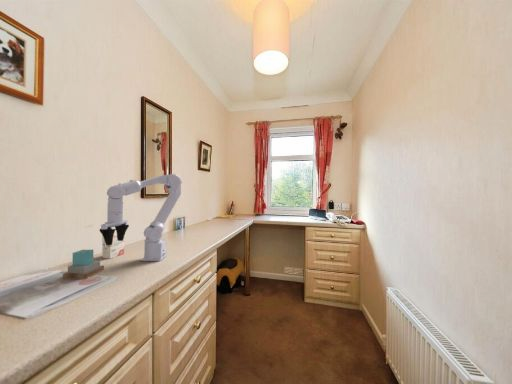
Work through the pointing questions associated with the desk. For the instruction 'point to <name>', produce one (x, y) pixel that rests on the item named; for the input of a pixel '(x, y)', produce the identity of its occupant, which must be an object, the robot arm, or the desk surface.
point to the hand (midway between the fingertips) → (114, 242)
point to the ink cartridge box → (112, 247)
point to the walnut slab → (86, 275)
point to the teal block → (82, 257)
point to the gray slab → (84, 268)
